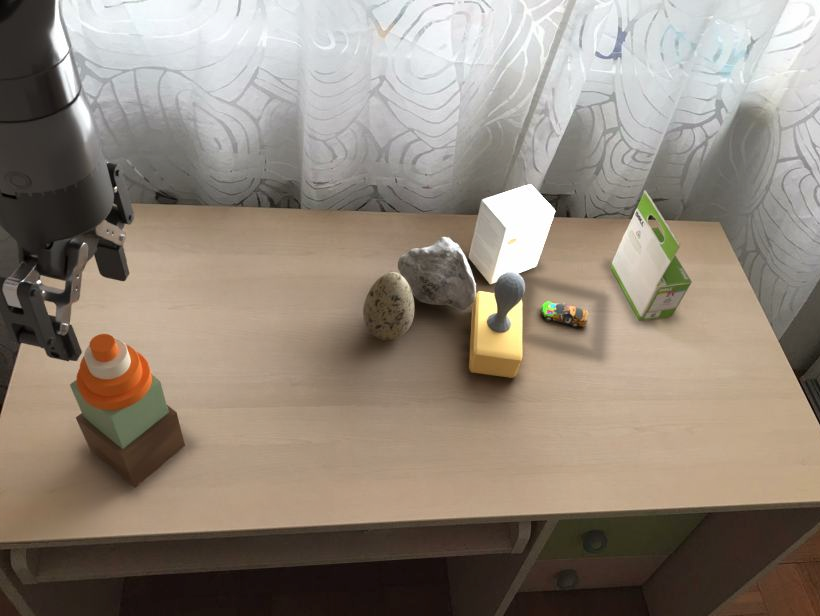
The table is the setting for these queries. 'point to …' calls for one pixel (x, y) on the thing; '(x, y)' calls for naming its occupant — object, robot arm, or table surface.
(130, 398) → the cone
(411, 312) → the decorative egg
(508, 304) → the rubber stamp
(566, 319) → the toy car
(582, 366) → the table surface
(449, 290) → the stone
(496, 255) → the small box
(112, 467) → the walnut block
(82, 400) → the sage block
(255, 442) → the table surface
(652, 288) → the ink box
